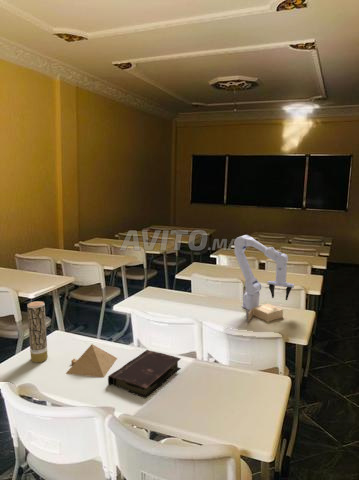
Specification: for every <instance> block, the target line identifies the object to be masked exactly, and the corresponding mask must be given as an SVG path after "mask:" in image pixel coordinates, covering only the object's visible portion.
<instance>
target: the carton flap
mask: <svg viewBox="0 0 359 480" xmlns="http://www.w3.org/2000/svg"><path fill="white" fill-rule="evenodd" d="M245 314H246V315H245V316H246V317H245V318H246V319H245V322H246V323H249V321H250V320H251V318H253V316H254V315H253V308H252V309H251V310H249V309H246V313H245Z"/></svg>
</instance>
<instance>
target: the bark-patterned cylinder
mask: <svg viewBox="0 0 359 480" xmlns="http://www.w3.org/2000/svg"><path fill="white" fill-rule="evenodd" d="M26 308H27V319H28V320H27V321H28V322H27V323H28V334H29V337H28V338H29V352H30V360H31V362H33V363H42V362H45V361H46V360H47V359H48V339H47V323H46V322H47V321H46V319H47V318H46V306H45V301H41V300H40V301H38V300H37V301H30V302H28V303H27V307H26Z"/></svg>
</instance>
